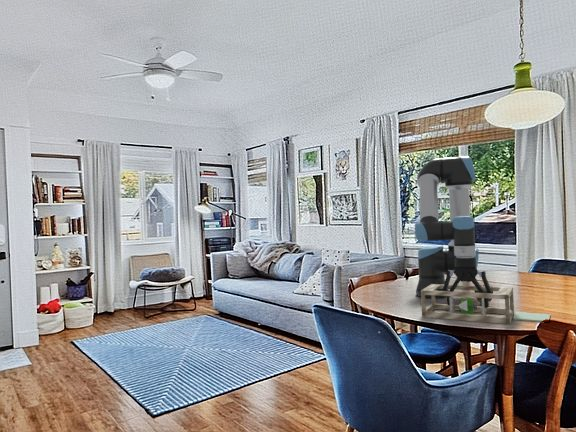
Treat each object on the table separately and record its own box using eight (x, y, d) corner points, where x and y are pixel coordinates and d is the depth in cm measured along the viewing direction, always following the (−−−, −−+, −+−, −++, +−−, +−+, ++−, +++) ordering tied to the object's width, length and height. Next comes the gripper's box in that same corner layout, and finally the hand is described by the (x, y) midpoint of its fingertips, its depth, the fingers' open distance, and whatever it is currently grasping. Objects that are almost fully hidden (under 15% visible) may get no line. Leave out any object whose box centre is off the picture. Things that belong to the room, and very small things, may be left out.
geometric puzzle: (457, 306, 170) (456, 292, 166) (476, 307, 168) (476, 292, 163) (458, 321, 165) (457, 307, 160) (478, 321, 162) (477, 307, 158)
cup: (493, 308, 174) (492, 288, 174) (473, 306, 178) (472, 287, 178) (495, 304, 181) (494, 285, 181) (476, 303, 184) (475, 284, 184)
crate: (422, 316, 165) (420, 290, 165) (432, 308, 179) (431, 284, 179) (509, 324, 149) (508, 295, 149) (514, 314, 163) (512, 287, 163)
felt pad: (513, 319, 154) (513, 318, 154) (516, 313, 164) (516, 311, 164) (549, 322, 149) (549, 321, 149) (550, 315, 158) (549, 314, 158)
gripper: (431, 257, 167) (433, 314, 167) (497, 258, 155) (500, 319, 155) (436, 255, 173) (438, 310, 173) (500, 256, 161) (502, 315, 161)
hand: (467, 315), depth 164 cm, fingers open, 11 cm apart
